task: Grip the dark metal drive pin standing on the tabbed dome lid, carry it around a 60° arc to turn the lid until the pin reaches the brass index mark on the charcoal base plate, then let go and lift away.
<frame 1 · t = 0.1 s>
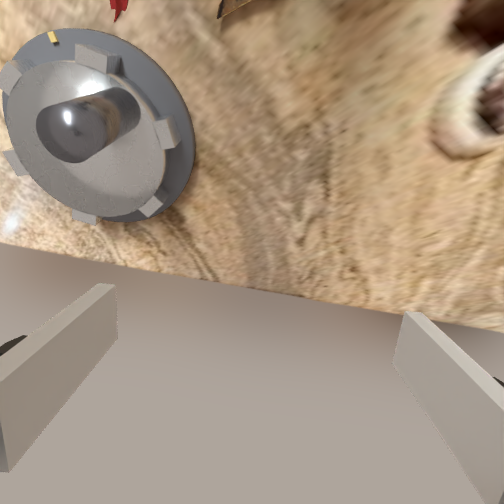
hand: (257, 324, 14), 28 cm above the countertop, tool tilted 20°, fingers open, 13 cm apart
base plate: (108, 137, 37), on the countertop
tabbed dome lid: (69, 160, 30), point 9 cm above the countertop, hinge at 0.0°
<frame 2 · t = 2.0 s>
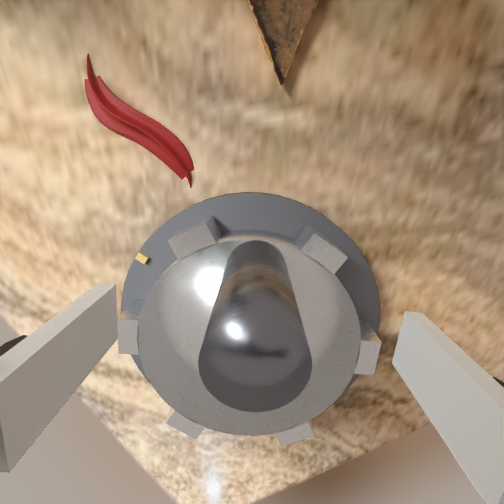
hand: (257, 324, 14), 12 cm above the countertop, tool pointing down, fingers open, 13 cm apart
base plate: (250, 313, 27), on the countertop
cayenne pepper: (141, 128, 24), on the countertop
tabbed dome lid: (246, 381, 19), point 9 cm above the countertop, hinge at 0.0°
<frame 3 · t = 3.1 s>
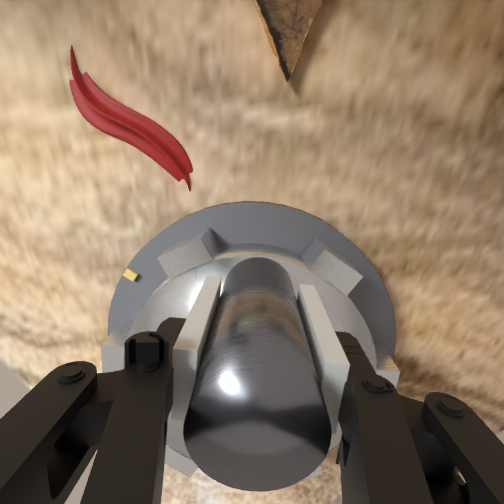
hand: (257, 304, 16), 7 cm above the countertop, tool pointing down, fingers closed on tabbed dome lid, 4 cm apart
base plate: (251, 333, 25), on the countertop
cayenne pepper: (133, 127, 21), on the countertop
tabbed dome lid: (247, 421, 16), point 9 cm above the countertop, hinge at 0.0°, touching gripper
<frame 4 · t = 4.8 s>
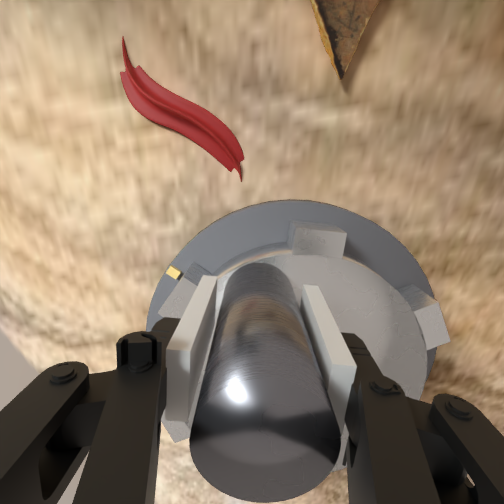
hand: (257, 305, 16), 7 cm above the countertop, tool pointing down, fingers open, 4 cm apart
base plate: (288, 334, 24), on the countertop
cayenne pepper: (183, 118, 21), on the countertop
tabbed dome lid: (306, 421, 16), point 9 cm above the countertop, hinge at 30.1°, touching gripper
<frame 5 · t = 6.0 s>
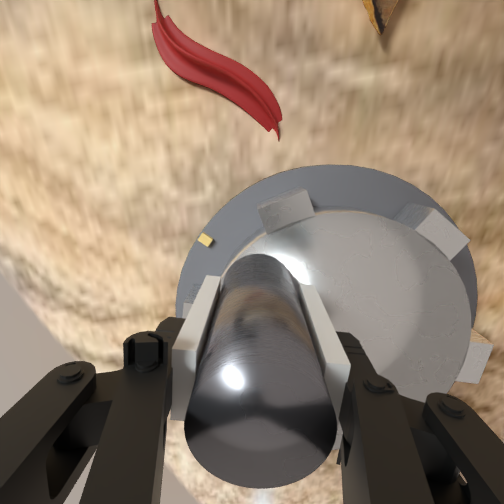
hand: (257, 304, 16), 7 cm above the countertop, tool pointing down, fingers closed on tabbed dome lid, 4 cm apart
base plate: (318, 307, 24), on the countertop
cayenne pepper: (216, 76, 20), on the countertop
tabbed dome lid: (353, 383, 15), point 9 cm above the countertop, hinge at 57.4°, touching gripper
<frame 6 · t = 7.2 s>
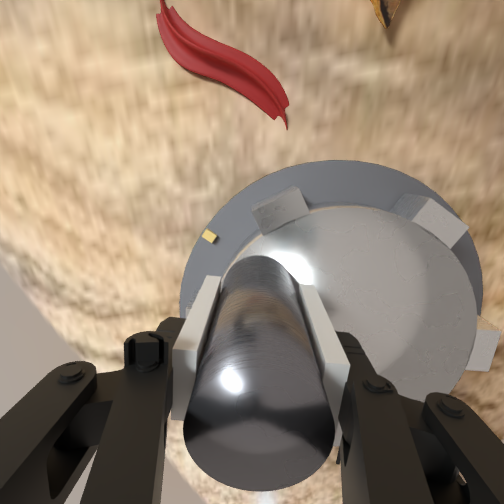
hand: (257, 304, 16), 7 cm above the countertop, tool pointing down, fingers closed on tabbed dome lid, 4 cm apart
base plate: (322, 303, 24), on the countertop
cayenne pepper: (223, 68, 20), on the countertop
tabbed dome lid: (358, 379, 15), point 9 cm above the countertop, hinge at 61.4°, touching gripper
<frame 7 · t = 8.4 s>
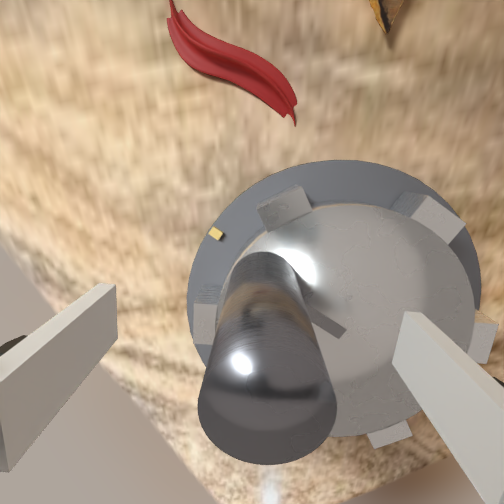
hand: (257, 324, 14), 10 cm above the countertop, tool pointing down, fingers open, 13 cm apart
base plate: (325, 299, 24), on the countertop
cayenne pepper: (231, 68, 21), on the countertop
tabbed dome lid: (360, 369, 16), point 9 cm above the countertop, hinge at 61.5°
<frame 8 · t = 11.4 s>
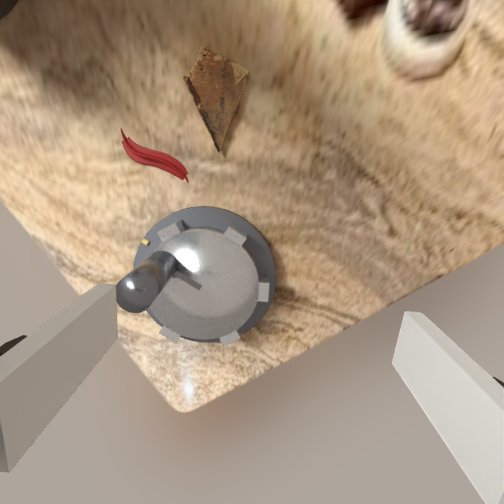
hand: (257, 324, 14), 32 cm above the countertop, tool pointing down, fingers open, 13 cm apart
base plate: (206, 274, 47), on the countertop
cayenne pepper: (155, 158, 43), on the countertop
tabbed dome lid: (195, 298, 39), point 9 cm above the countertop, hinge at 61.5°
shard: (225, 97, 41), on the countertop
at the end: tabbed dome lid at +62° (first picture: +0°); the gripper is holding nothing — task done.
